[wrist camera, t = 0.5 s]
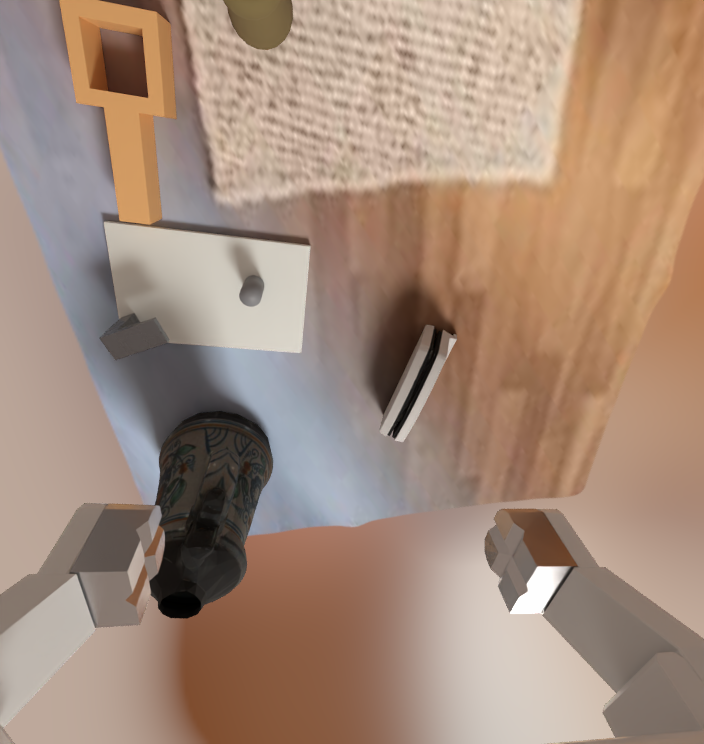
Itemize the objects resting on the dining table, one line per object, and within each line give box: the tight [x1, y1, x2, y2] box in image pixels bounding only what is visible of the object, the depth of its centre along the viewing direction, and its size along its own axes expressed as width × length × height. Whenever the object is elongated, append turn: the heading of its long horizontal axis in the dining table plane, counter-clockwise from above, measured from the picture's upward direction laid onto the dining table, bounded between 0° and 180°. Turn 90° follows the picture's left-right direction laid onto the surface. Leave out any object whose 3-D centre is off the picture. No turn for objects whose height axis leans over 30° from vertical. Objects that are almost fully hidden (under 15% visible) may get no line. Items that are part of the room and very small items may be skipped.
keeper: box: [100, 313, 170, 360], centre depth 48 cm, size 7×3×7 cm, turn 107°
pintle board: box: [104, 221, 310, 353], centre depth 48 cm, size 14×23×5 cm, turn 82°
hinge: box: [379, 325, 457, 442], centre depth 56 cm, size 17×5×10 cm, turn 160°
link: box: [59, 0, 177, 225], centre depth 39 cm, size 18×8×4 cm, turn 172°
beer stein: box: [149, 411, 273, 618], centre depth 52 cm, size 16×19×25 cm
